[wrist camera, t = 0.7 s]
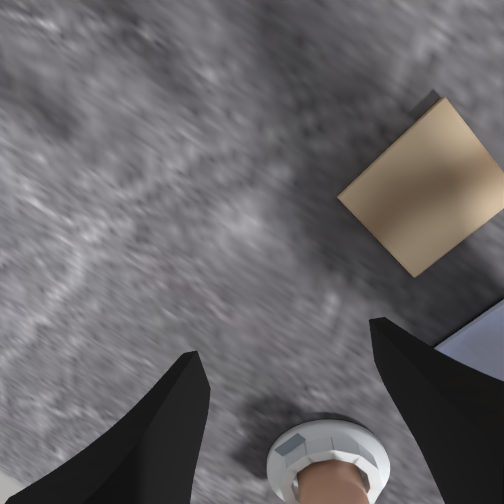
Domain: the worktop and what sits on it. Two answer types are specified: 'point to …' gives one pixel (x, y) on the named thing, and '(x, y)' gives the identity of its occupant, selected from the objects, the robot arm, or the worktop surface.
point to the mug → (331, 483)
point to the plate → (326, 455)
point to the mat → (427, 189)
